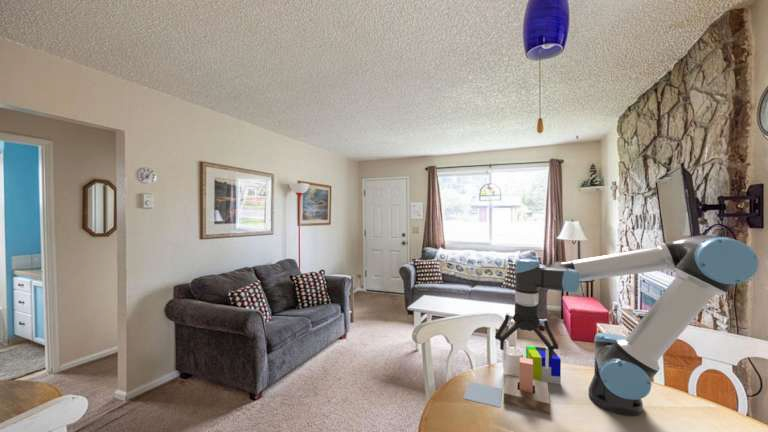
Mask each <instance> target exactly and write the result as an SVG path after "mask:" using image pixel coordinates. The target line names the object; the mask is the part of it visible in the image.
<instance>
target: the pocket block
mask: <svg viewBox="0 0 768 432" xmlns="http://www.w3.org/2000/svg"><path fill="white" fill-rule="evenodd" d="M503 388H504V389H503V404H505V405H509V406H513V407H517V408H521V409H526V410H530V411H533V412H534V411H535V412H537V413H542V414H546V415H551V401H550V393H549V387H548V383H547V382H543V381H538V380H533V393H530V392H525V391H521V390H520V377H518V376H513V375H508V374H506V376H505V379H504V387H503Z"/></svg>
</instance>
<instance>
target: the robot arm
mask: <svg viewBox="0 0 768 432" xmlns="http://www.w3.org/2000/svg"><path fill="white" fill-rule="evenodd" d="M759 264H760V262H759V259H758V255H757V254H756V251H754V250H753V249H752V248H751V247H750V246H749V245H747V244H745V243H744V242H742V241H740V240H737V239H733V238H731V237H728V236H715V235H708V234H700V235H694V236H688V237H685V238H681V239H676V240H672V241H666V242H660V244H659V245H658V246H657V247H656V246H655V247H650V248H643V249H637V250H630V251H629V250H628V251H626V252H625V251H623V252H618V253H611V254H605V255H600V256H592V257H587V258H581V259H573V260H569V261H555V262H553V263H552V264H549V266H541V265H540V261H539V260H537V259H533V258H532V259H531V258H520V259H517V260H516V261H515V272H514V273H515V277H514V278H515V281H514V282H515V286H514V287H515V288H514V289H515V290H514V301H515V303H514V314H509V313H505V316H504V320H503V322H502V323H501V325H500V326H499V328H498V330H497V332H496V333H495V337H494V338H495V340H499V342H500V343H499V346H500V347H499V348H500V350H501V351H502V350H503V360H504V361H506V347H507V339H508V338H509V337H510V336H511V335H512V334H514V333H515V331H517V330H518V329H520V330H521V331H528V332H531V331H533V332H534V333H535V334H536V335H537V336H538V337H539V339H540V340H541V342H542V343H544V344H543V345H545V348H546V363H545V366H546V369H548V365H549V359H552V351H553V350H559V348H560V347H559V344H558V342H557V340H556V338H555V336H554V333H553V332H552V330H551V328H550V326H549V320H548V318H544V319H541V318H539V305H538V304H539V298H540V296H539V294H540V293H539V291H540V290H539V289H543V290H552V291H558V292H566V293H578V292H579V291H580V282H583V281H589V280H598V279H604V278H613V277H614V278H615V277H621V276H629V275H636V274H646V273H651V272H659V271H661V272H662V271H669V272H670V273H675V274H676V275H675V278H674V279H673V280H672V282H671V283H670V284H669V285H668V286H667V287H666V289H664V291H663V293H661V294H660V296H659V297H658V298H657V299H656V301H655V303H654V304H653V305H652V306H651V307H650V309H648V311H647V312H646V314H644V316H643V317H642V318H641V320H640V321H639V322H638V323H637V324H636V325H635V327H634V328H633V329H632V331H630V332H629V334H628V335H627V336H625V335H620V334H616V333H610V332H609V333H608V332H598V333H596V334H595V336H594V340H593V342H594V373H593V374H594V375H593V377H592V379H591V382H590V383H589V386H588V398H589V399H590V400H591V401H592V402H593V403H594V404H596V405H597V406H599V407H601V408H602V409H605V410H607V411H609V412H612V413H615V414H618V415H624V416H639V415H641V414H642V413H643V411H644V405H643V400H642V399H643V398H646V397H647V396H648V395H649V394H650V393H651V390H652V379H653V378H654V377H655V375H656V374H657V373H658V372H659V371H660V370H661V369H660V365H659V360H660V359H661V358H662V356H663V355H664V354H665V353H666V351H668V349H669V348H670V347H671V346H672V345H673V343H675V342H676V340H677V339H678V338H679V337H680V335H681V334H683V332H685V330H686V329H687V327H688V326H689V325H690V324H691V323H692V322H693V320H694V319H696V317H697V316H698V315H699V314H700V312H702V310H703V309H705V307H706V306H707V304H708V303H710V302H711V300H712V299H713V298H714V296H718V295H726V294H727V293H728V292H729V291H730V290H731V289H732V288H733V287H734V285H736V284H740V283H744V282H746V281H749V280H750V279H752V277H754V276H755V275H756V274H757V272H758V269H759ZM512 320H513V321H514V322H515V323H514V324H513V325H512V326H511V327H510V328H508V330H507V331H505V332H504V330H505V328H506V326H507V325H508V323H509V322H511V321H512ZM539 324H541V326H543V327H544V329H545V331H546V333H547V335H548V337H549V339H548V338H547V337H546V336H545V335H544V334H543V333H542V331H541V330H540V329H539V327H538V325H539ZM503 332H504V333H503ZM549 340H550V341H551V342H550V341H549ZM503 360H502V361H503Z"/></svg>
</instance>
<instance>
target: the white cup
mask: <svg viewBox="0 0 768 432" xmlns="http://www.w3.org/2000/svg"><path fill="white" fill-rule="evenodd" d="M501 352H502V354H501V355H502V369H503V372H502V373H503V375H504V376H505V377H506V374H508V375H513V376H518V377H520V357H522V358H524V352H523V350H521V349H520V348H517V347H512V346H506V361H504V360H503V350H501Z"/></svg>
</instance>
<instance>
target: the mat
mask: <svg viewBox="0 0 768 432" xmlns="http://www.w3.org/2000/svg"><path fill="white" fill-rule="evenodd" d="M502 394H503V388H500V387H495V386H490V385H486V384H481V383H477V382H473V381H468V384H467V387H466V390H465V392H464V394H463V399H464V400H468V401H472V402H475V403H480V404H484V405H488V406H492V407H497V408H501V403H502Z"/></svg>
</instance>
